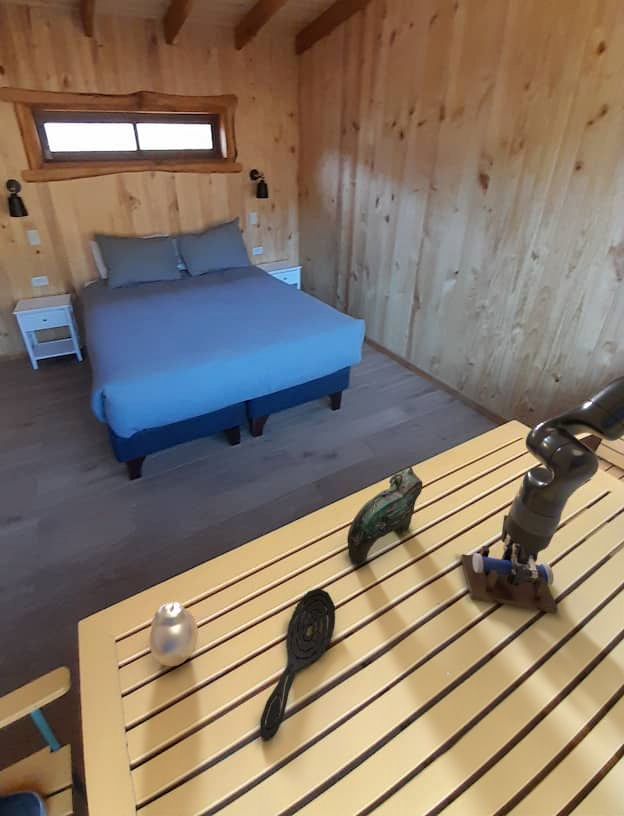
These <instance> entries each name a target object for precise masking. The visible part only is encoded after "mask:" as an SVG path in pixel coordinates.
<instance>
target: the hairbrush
mask: <svg viewBox="0 0 624 816" xmlns="http://www.w3.org/2000/svg"><path fill="white" fill-rule="evenodd" d="M335 625H336V606H335V603H334V601H333V599H332V597H331V595H330V593H329V592H328V591H326V590H324V589H321V588H320V587H317V588H314V589H311V590H307V591H306V593H304V596H303V597H301V599H300V600H299V602H298V603H297V604H296V606H294V611H292V615H291V618H290V620H289V622H288V626H287V633H286V640H285V641H286V642H285V644H286V655H287V661H286V662H287V663H286V667H285V669H284V670H283V673H282V674H281V676H280V678H279V680H278V683H277V684H276V686H275V688H274V689H273V691H272V692H271V694H270V695H269V697H268V698H267V700H266V702H265V705H264V708H263V710H262V714H261V717H260V720H259V721H260V724H259V726H260V729H259V730H260V737H261V739H263V740H264V741H266V742H268V741H269V740H270V739H272V738H273V737H274V736H275V735H276V734H277V732H278V730H279V728H280V727H281V724H282V721H283V719H284V717H285V713H286V709H287V704H288V700H289V694H290V690H291V688H292V686H293V683H294V680H295V677H296V674H297V673H298V672H300V670H302V669H303V668H305V667H307V666H309V665H311V664H313V663H315V662H317V660H319V659H320V658H321V656H322V655H323V654H324V653H325V652H326V650H327V649H328V646H329V645H330V643H331V641H332V638H333V633H334V630H335ZM310 626H311V631H310V632H309V634H308V628H309V627H310Z"/></svg>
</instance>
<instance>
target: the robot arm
mask: <svg viewBox="0 0 624 816" xmlns="http://www.w3.org/2000/svg"><path fill="white" fill-rule="evenodd" d="M581 434H590V435H593V436H595V437H597V438H600V439H601V440H605V441H607V442H614V441H617V440H619V439H620V438H622V437H623V436H624V374H622V375H619V376H616V377H614V378H613V379H611V380H609V381H608V382H606V383H605V384H604V385H602V386H601V387H600V388H598V389H597V390H596V391H595V392H594V393H592V394H591V395H590V396H589V397H587V398H586V400H584V401H583V402H582V403H580V404H579V405H577V406H575V407H573V408H571V409H568V410H566V411H564V412H562V413H560V414H557V415H556V416H553V417H551V418H549V419H546V420H543V421H542V422H540V423H538V424H536V425H535V426H534V427H533V428H531V430H530V431H529V432H528V434H527V436H526V437H525V448H526V450H527V451H528V452H529V453H530V455H532V456H533V457H534V458H535V459H536V460H537V461H538V462H539V463H541V464H542V465H543V467H542V466H535V467H532V468H529V469H528V470H527V471H526V473H525V474H524V476H523V479H522V482H521V484H520V486H519V489H518V492H517V493H516V495H515V497H514V499H513V500H512V503H511V506H510V508H509V511H508V513H507V514H504V515H503V522H502V530H501V537H500V540H501V542H502V543H504V545H503V546H502V547H503V549H502V550H503V554H502V557H501V559H502V560H508V561H512V563H513V565H512V570H511V571H510V573H509V576H508V578H507V582H508V584H510V585H514V586H520V584H521V582H524V583H530V584H531V583H533V582H535V581H537V580H539V579H542V572H541V571H538V570H537V569H536V565H537V564H536V563H537V561H538V556H539V553H540V552H542V551H545V550H546V549H547V548H549V546H550V544H551V542H552V539H553V537H554V535H555V534H556V531H557V529H558V528H559V525H560V522H561V519H562V514H563V511H564V509H565V507H566V505H567V503H568V501H569V499H570V498H571V496H572V495H574V493H575V492H576V491H577V490H579V488H580V487H582V486H583V485H584V484H585V483H587V482H588V481H589V480H591V479H592V478H593V477H594V476H595V475H596V474H597V472H598V470H599V465H600V464H599V458H598V455H597V453H596V452H595V451H594V450H593V449H592V448H590V447H589V446H588V445H586V444H585V443H584V442H583V441H581V440H580V439H579V438H577V437H576V436H578V435H581ZM518 567H523V569H518Z"/></svg>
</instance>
